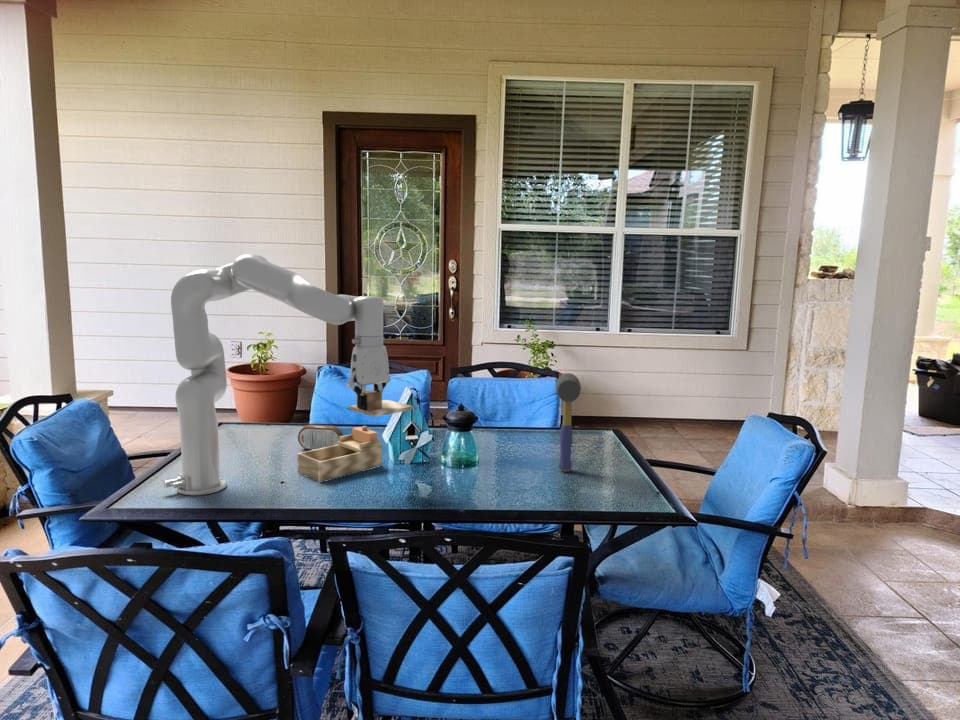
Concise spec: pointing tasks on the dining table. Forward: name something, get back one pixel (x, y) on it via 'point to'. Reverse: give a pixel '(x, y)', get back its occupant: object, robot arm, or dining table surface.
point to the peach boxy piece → (364, 434)
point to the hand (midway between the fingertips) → (369, 407)
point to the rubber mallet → (567, 416)
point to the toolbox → (340, 459)
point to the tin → (318, 436)
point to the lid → (379, 405)
